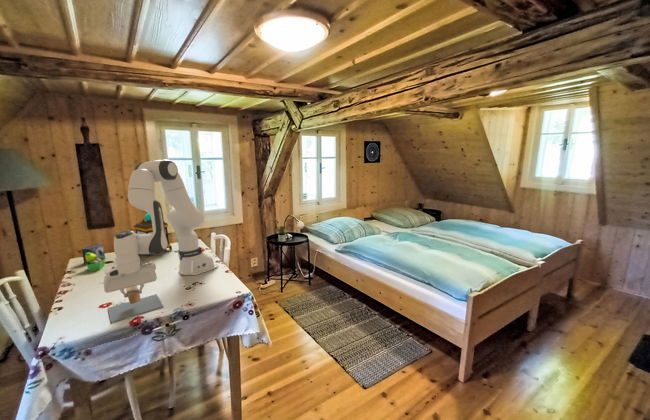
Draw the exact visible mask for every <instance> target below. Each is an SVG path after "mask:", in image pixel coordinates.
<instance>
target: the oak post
mask: <svg viewBox="0 0 650 420" xmlns="http://www.w3.org/2000/svg"><path fill="white" fill-rule="evenodd" d="M125 289H126V291H125V292H127V293H128V297H127V298H128V302H130V304H133V303H136V302H140V301H141V294H140V293H139V290H138V289H139V288H138V285H137V286H133V287H129V288H125Z"/></svg>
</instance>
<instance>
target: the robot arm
mask: <svg viewBox="0 0 650 420" xmlns="http://www.w3.org/2000/svg"><path fill="white" fill-rule="evenodd" d="M158 182H160V183H161V187H162V190H163V191H164V195H165V197H166V200H167V202H168V204H169V205H170V206H172V209H170V210H169V211H168V213H167V214H166V219H167V221H168V222H169V224H171V227H172V228H173V230H174V233H175V235H176V238H177V245H178V253H177V254H178V260H179V268H178V274H179V275H182V276H184V275H185V276H197V275H200V274H203V273H205V272H209V271H212V270H215V269H217V268H218V267H219V265H218V263H217V262H215V261H214V258H213V257H212V256H211V255H210V254H208V253H205V251H206V249H205V248H204V247H202V246H199V237H198V234H197V232H196V231H194V229H195V228H200V227H201V226H203V224H204V222H205V215H204V214H203V213H202V212H201V211H200V210H199V209H198V208H197V207H196V206H195V204H194V203H193V201H192V199H191V198H190V196H189V194H188V191H187V188H186V186H185V183H184V181H183V178H182V177H181V174H180V173H179V169H178V166H177V165H176V163H175V162H174V161H172V160H171V159H170V160H169V159H154V160H151V161H145V162H144V161H143V162H140V163H137V164H136V165H135V167H134V169H133V170H132V173H131V175H130V177H129V182H128V189H127V200H128V202H129V203H130V205H131V206H133V207H134V208H135V209H138V210H140V211H145V212H146V213H149V214H150V215H151V219H152V227H153V233H152V234H136V232H134V231H133V230H124V231H120V232H118V233H116V234H115V235H114V237H113V249H114V255H115V257H116V261H115V262H116V264H114V265H112V266H110V267H108V268H106V269H105V270H104V273H105V275H104V279H103V290H104V293H106V294H108V293H112V292H116V291H119V292H120V293H121V294H122V295H123V297H124V298H128V293H127V291H125V289H126V288H129V287H133V286H137V287H138V286H140V287H139V288H138V290H139V293H140V295H141V294H143V291H142V290H143V289H144V287H145V284H149V283H153V282H156V280H157V278H158V277H157V272H156V269H157V267H156V263H155V262H147V263H141V259H140V256H139V255H148V254H150V255H161V254H162V253H164V252H165V251H166V250H167V249H168V248H167V246H168V241H167V237H166V234H165V227H164V222H165V221H164V214H163V213H164V212H163V208H162V205H161V202H159V201H158V200H157V199H156V196H155V195H156V194H155V190H156V189H155V187H156V186H155V183H158Z"/></svg>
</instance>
